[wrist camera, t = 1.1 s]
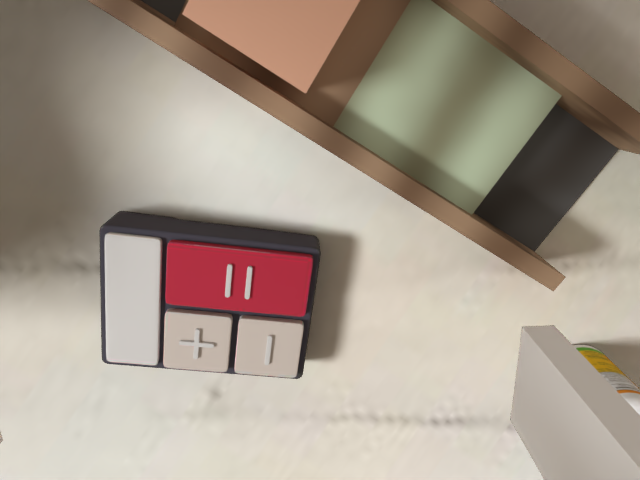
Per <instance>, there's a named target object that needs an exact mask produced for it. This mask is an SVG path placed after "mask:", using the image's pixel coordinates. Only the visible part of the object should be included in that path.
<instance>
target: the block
mask: <svg viewBox="0 0 640 480" xmlns="http://www.w3.org/2000/svg"><path fill="white" fill-rule="evenodd" d="M359 2H360V0H189V1H188V3H187V5H186V7H185V9H184V11H183V13H182V14H183V15H184V16H186V17H187V18H189V19H190V20H192V21H193V22H195V23H197V24H198V25H200V26H201V27H203V28H204V29H206V30H207V31H209V32H211V33H212V34H214V35H215V36H217V37H218V38H220V39H221V40H223V41H225V42H226V43H228V44H229V45H231V46H232V47H234V48H235V49H237V50H239V51H240V52H242V53H243V54H245V55H246V56H248V57H249V58H251V59H252V60H254V61H256V62H257V63H259V64H260V65H262V66H263V67H265V68H266V69H268V70H270V71H271V72H273V73H274V74H276V75H277V76H279V77H280V78H282V79H284V80H285V81H287V82H288V83H290V84H291V85H293V86H294V87H296V88H298V89H299V90H301V91H302V92H304V93H305V94H306V93H307V91H308V89H309V87H310V86H311V84H312V82H313V80H314V79H315V77H316V75H317V74H318V72H319V70H320V68H321V67H322V65H323V63H324V62H325V60H326V58H327V56H328V55H329V53H330V51H331V50H332V48H333V46H334V44H335V43H336V41H337V39H338V38H339V36H340V34H341V32H342V31H343V29H344V27H345V26H346V24H347V22H348V20H349V19H350V17H351V15H352V14H353V12H354V10H355V8H356V7H357V5H358V3H359Z"/></svg>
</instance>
